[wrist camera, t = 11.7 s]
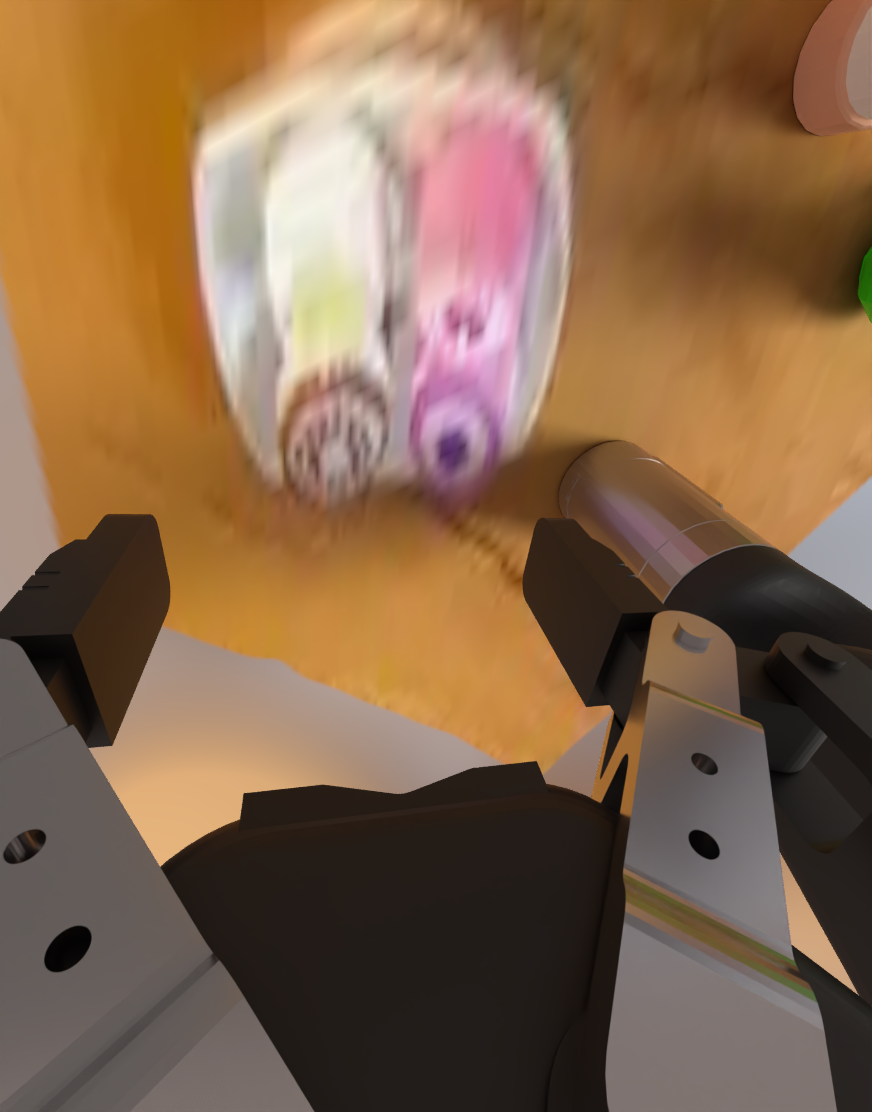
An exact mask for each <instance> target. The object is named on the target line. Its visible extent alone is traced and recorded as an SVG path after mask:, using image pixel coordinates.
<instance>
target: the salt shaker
mask: <svg viewBox="0 0 872 1112" xmlns="http://www.w3.org/2000/svg"><path fill="white" fill-rule="evenodd" d="M793 101H794V106H795V110H796V114H797V118H798V119H799V121H800V122H801V124H802V125H803V126H804V128H805V129H806V130H807V131H809V132H811V133H813V134H815V135H818V136H825V135H836V134H842V133H848V132H854V131H860V130H866V129H872V0H832V1H831V2H830V3H829V4H828V5H827V6H826V8H825V9H824V11H823V12H822V13H821V15H820V16H819V18H818V19H817V21H816V22H815V23H814V25H813V26H812V28H811V30H810V32H809V35H808V37H807V39H806V41H805V43H804V45H803V48H802V50H801V52H800V56H799V60H798V64H797V68H796V71H795V75H794V90H793Z"/></svg>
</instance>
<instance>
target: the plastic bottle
mask: <svg viewBox="0 0 872 1112" xmlns="http://www.w3.org/2000/svg"><path fill="white" fill-rule="evenodd" d="M857 292H858V297H859V299H860V301H861V303H862V305H863V307H864V309H865V312H866V314H867V316H868V318H869V320H870V322H871V323H872V246H871V248H870V249H869V251H868V252H867V253H866V255H865V256H864V259H863V263H862V267H861V272H860V276H859V287H858V291H857Z"/></svg>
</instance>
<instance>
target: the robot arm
mask: <svg viewBox="0 0 872 1112" xmlns="http://www.w3.org/2000/svg"><path fill="white" fill-rule="evenodd" d="M558 498H559V507H560V510H561V512H562V514H563V516H564V517H565V518H541V519H539V520H538V522H537V523H536V525H535V528H534V532H533V537H532V541H531V545H530V549H529V553H528V557H527V561H526V566H525V570H524V574H523V593H524V597H525V600H526V602H527V604H528V606H529V607H530V609H531V611H532V613H533V614H534V616H535V618H536V620H537V621H538V623H539V625H540V627H541V628H542V630H543V632H544V634H545V635H546V637H547V639H548V641H549V643H550V644H551V646H552V648H553V650H554V651H555V653H556V655H557V657H558V658H559V660H560V662H561V664H562V665H563V667H564V669H565V671H566V672H567V674H568V676H569V678H570V679H571V681H572V683H573V685H574V686H575V688H576V690H577V692H578V694H579V695H580V697H581V699H582V701H583V702H584V704H585V706H586V707H592V706H603V705H610V706H611V708H612V710H613V713H612V715H611V718H610V720H609V723H608V726H607V730H606V735H605V740H604V743H603V748H602V752H601V757H600V761H599V765H598V770H597V774H596V778H595V783H594V787H593V791H592V795H591V798H590V797H588V796H586V795H583V794H580V793H578V792H575V791H573V790H570V789H567V788H563V787H558V786H555V785H550V784H546V783H545V780H544V778H543V775H542V773H541V770H540V768H539V766H538V763H537V761H534V762H524V763H515V764H506V765H497V766H488V767H479V768H472V769H469V770H466V771H463V772H461V773H459V774H456V775H453V776H450V777H448V778H445V779H443V780H440V781H437V782H435V783H432V784H430V785H427V786H424V787H422V788H419V789H417V790H414V791H411V792H408V793H405V794H392V793H383V792H376V791H368V790H361V789H352V788H344V787H336V786H329V785H316V786H307V787H298V788H288V789H279V790H270V791H262V792H253V793H244V795H243V803H242V810H241V817H240V820H237V821H235V822H232V823H230V824H227V825H225V826H223V827H221V828H218V829H216V830H214V831H213V832H210V833H208V834H206V835H205V836H203V837H201V838H200V839H198V840H196V841H195V842H193V843H191V844H190V845H188V846H187V847H185V848H184V849H183V850H181V851H180V852H179V853H177V854H176V855H175V856H173V857H172V858H170V859H169V860H168V861H166V862H165V863H164V864H163V865H162V866H161V867H160V866H159V865H158V863H157V861H156V859H155V858H154V856H153V855H152V853H151V851H150V850H149V848H148V846H147V845H146V843H145V841H144V840H143V838H142V837H141V835H140V833H139V831H138V830H137V828H136V827H135V825H134V823H133V822H132V820H131V818H130V816H129V815H128V813H127V812H126V810H125V808H124V806H123V805H122V803H121V802H120V800H119V798H118V797H117V795H116V793H115V792H114V790H113V788H112V787H111V785H110V783H109V782H108V780H107V778H106V777H105V775H104V773H103V772H102V770H101V768H100V767H99V765H98V763H97V762H96V760H95V759H94V757H93V755H92V754H91V752H90V750H89V748H92V747H104V746H112V745H113V743H114V740H115V738H116V735H117V733H118V731H119V728H120V726H121V723H122V721H123V719H124V716H125V714H126V711H127V709H128V706H129V704H130V701H131V699H132V697H133V694H134V692H135V689H136V687H137V684H138V682H139V680H140V677H141V675H142V673H143V670H144V668H145V665H146V663H147V661H148V658H149V656H150V653H151V651H152V648H153V646H154V643H155V641H156V639H157V636H158V634H159V631H160V629H161V627H162V624H163V622H164V619H165V617H166V615H167V612H168V609H169V604H170V582H169V576H168V572H167V567H166V562H165V557H164V552H163V548H162V543H161V538H160V533H159V529H158V525H157V522H156V519H155V518H154V516H153V515H151V514H107V515H105V516H104V518H103V519H102V520H101V521H100V523H99V524H98V525H97V526H96V528H95V529H94V530H93V531H92V533H91V534H90V535H89V537H88V538H87V539H86V540H74V541H72V542H71V543H69V544H67V545H65V546H64V547H62V548H60V549H58V550H57V551H55V552H53V553H52V554H50V555H49V556H48V557H47V558H46V560H45V561H44V562H43V563H42V564H41V565H40V567H39V568H38V569H37V570H36V571H35V575H32V576H31V577H30V578H29V579H28V581H27V582H26V583H25V584H24V585H23V587H22V588H23V589H22V590H19V591H18V592H17V593H16V595H14V597H13V598H12V599H11V600H10V601H9V602H8V604H7V605H6V606H5V607H4V608H3V609H2V611H1V612H0V1112H872V610H871V609H869V608H868V607H866V606H865V605H864V604H862V603H861V602H859V601H858V600H856V599H855V598H854V597H852V596H850V595H849V594H848V593H846V592H845V591H843V590H841V589H840V588H838V587H836V586H835V585H833V584H831V583H830V582H828V581H826V580H825V579H823V578H821V577H819V576H818V575H816V574H814V573H812V572H811V571H809V570H807V569H806V568H804V567H803V566H801V565H799V564H798V563H797V562H795V561H794V560H792V559H791V558H789V557H788V556H787V555H785V554H784V553H783V552H781V551H779V550H778V549H777V548H775V547H774V546H773V545H771V544H770V543H769V542H767V541H766V540H764V539H763V538H762V537H760V536H759V535H758V534H756V533H755V532H754V531H752V530H751V529H750V528H748V527H747V526H745V525H744V524H742V523H741V522H740V521H738V520H737V519H736V518H734V517H733V516H732V515H730V514H729V513H728V512H726V511H725V510H723V505H722V504H721V503H720V502H718V501H717V500H716V499H714V498H713V497H711V496H710V495H709V494H707V493H706V492H705V491H703V490H702V489H700V488H699V487H698V486H696V485H695V484H694V483H692V482H691V481H689V480H688V479H687V478H685V477H684V476H683V475H681V474H680V473H678V472H677V471H676V470H674V469H673V468H672V467H670V466H669V465H667V464H666V463H665V462H663V461H662V460H661V459H659V458H657V457H652V456H651V455H649V454H648V453H647V452H645V451H644V450H643V449H641V448H640V447H638V446H636V445H635V444H632V443H629V442H625V441H613V442H607V443H603V444H601V445H598V446H596V447H593V448H592V449H590V450H588V451H587V452H585V453H584V454H583V455H581V456H580V457H579V458H578V459H577V460H576V461H575V462H574V463H573V464H572V465H571V467H570V468H569V469H568V471H567V472H566V474H565V476H564V478H563V480H562V483H561V486H560V489H559V496H558ZM779 851H780V852H779ZM780 853H781V855H782V857H783V858H784V860H785V862H786V864H787V866H788V867H789V869H790V871H791V873H792V874H793V876H794V878H795V880H796V882H797V884H798V885H799V887H800V889H801V891H802V893H803V894H804V896H805V898H806V900H807V902H808V903H809V905H810V907H811V909H812V911H813V912H814V914H815V916H816V918H817V920H818V922H819V923H820V925H821V927H822V929H823V930H824V932H825V934H826V936H827V938H828V940H829V941H830V943H831V945H832V947H833V949H834V950H835V952H836V954H837V956H838V957H839V959H840V961H841V963H842V965H843V966H844V969H845V970H846V972H847V974H848V976H849V978H850V980H851V981H852V983H853V985H854V987H855V989H856V991H857V993H858V994H859V995H857V994H856V993H855V992H853V991H852V990H851V989H849V988H848V987H847V986H845V985H844V984H843V983H841V982H840V981H839V980H838V979H836V978H835V977H834V976H832V975H831V974H830V973H828V972H827V971H826V970H824V969H823V968H822V967H820V966H819V965H818V964H816V963H815V962H814V961H812V960H811V959H810V958H808V957H807V956H806V955H805V954H803V953H802V952H801V951H799V950H798V949H797V948H795V947H794V946H793V945H791V939H790V931H789V923H788V916H787V907H786V899H785V891H784V884H783V876H782V868H781V860H780Z"/></svg>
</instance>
